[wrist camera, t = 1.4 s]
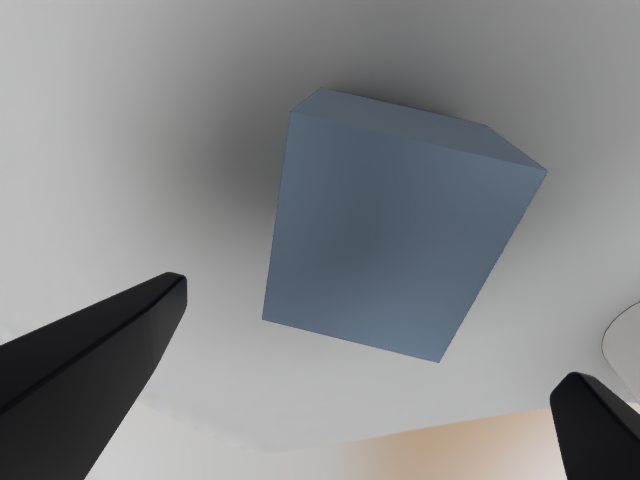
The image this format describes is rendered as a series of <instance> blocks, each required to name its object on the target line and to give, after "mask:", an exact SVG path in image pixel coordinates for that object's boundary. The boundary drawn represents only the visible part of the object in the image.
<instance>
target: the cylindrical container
mask: <svg viewBox="0 0 640 480" xmlns="http://www.w3.org/2000/svg"><path fill="white" fill-rule="evenodd" d="M602 351H603V354H604V357H605V358H606V360H607V361H608V363H609V364H610V365H611V367H612V368H613V369H614V371H615V372H616V373H617V375H618V376H619V378H620V379H621V380H622V382H623V383H624V384H625V386H626V387H627V388H628V390H629V391H630V393H631V394H632V395H633V397H634V398H635V399H636V401H637V402H638V403H639V405H640V302H639V303H637V304H635V305H634V306H632V307H630V308H629V309H627V310H626V311H625V312H623V313H622V314H621V315H620V316H618V317H617V318H616V319H615V320H614V321H613V322H612V323H611V325H610V326H609V328H608V329H607V331H606V332H605V335H604V338H603V341H602Z"/></svg>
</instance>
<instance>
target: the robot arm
mask: <svg viewBox="0 0 640 480" xmlns="http://www.w3.org/2000/svg"><path fill="white" fill-rule="evenodd" d="M186 306H187V279H186V277H185V276H184V275H181V274H177V273H173V272H166V273H163V274H161V275H159V276H156V277H154V278H152V279H150V280H147V281H145V282H143V283H141V284H138V285H136V286H134V287H132V288H129V289H127V290H125V291H123V292H120V293H118V294H116V295H113V296H111V297H109V298H107V299H104V300H102V301H100V302H98V303H95V304H93V305H91V306H89V307H86V308H84V309H82V310H80V311H77V312H75V313H73V314H71V315H68V316H66V317H64V318H61V319H59V320H57V321H55V322H52V323H50V324H48V325H46V326H43V327H41V328H39V329H37V330H34V331H32V332H30V333H28V334H25V335H23V336H21V337H18V338H16V339H14V340H12V341H9V342H7V343H5V344H3V345H0V480H84V479H85V477H86V476H87V474H88V473H89V471H90V470H91V468H92V467H93V465H94V463H95V462H96V460H97V459H98V457H99V456H100V454H101V453H102V451H103V450H104V448H105V447H106V445H107V444H108V442H109V440H110V439H111V437H112V436H113V434H114V433H115V431H116V430H117V428H118V427H119V425H120V424H121V422H122V420H123V419H124V417H125V416H126V414H127V413H128V411H129V410H130V408H131V406H132V405H133V404H134V402H135V400H136V399H137V397H138V396H139V394H140V393H141V391H142V390H143V388H144V387H145V385H146V384H147V382H148V380H149V379H150V377H151V376H152V374H153V372H154V371H155V369H156V367H157V365H158V363H159V361H160V360H161V358H162V356H163V354H164V352H165V350H166V348H167V346H168V344H169V342H170V340H171V338H172V336H173V334H174V332H175V330H176V328H177V326H178V324H179V322H180V320H181V318H182V316H183V314H184V312H185V310H186ZM550 406H551V410H552V415H553V420H554V424H555V429H556V433H557V437H558V442H559V447H560V451H561V456H562V460H563V465H564V468H565V472H566V476H567V480H640V414H638V413H637V412H636V411H635V410H634V409H632V408H631V407H630V406H629V405H628V404H626V403H625V402H624V401H623V400H622V399H620V398H619V397H618V396H617V395H616V394H614V393H613V392H612V391H611V390H610V389H608V388H607V387H606V386H605V385H604V384H602V383H601V382H600V381H599V380H598V379H596V378H595V377H593V376H591V375H587V374H583V373H579V372H571V373H569V374H568V375H567V376H566V377H565V378H564V379H563V380H562V381H561V382H560V383H559V384H558V386H557V387H556V388H555V389H554V390H553V391H552V393H551V395H550Z"/></svg>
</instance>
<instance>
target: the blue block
mask: <svg viewBox="0 0 640 480" xmlns="http://www.w3.org/2000/svg"><path fill="white" fill-rule="evenodd" d="M547 172H548V171H547V170H546V169H545V168H543V167H542V166H541V165H539V164H538V163H537V162H535V161H534V160H532V159H531V158H530V157H528V156H527V155H526V154H524V153H523V152H522V151H520V150H519V149H517V148H516V147H515V146H513V145H512V144H511V143H509V142H508V141H507V140H505V139H504V138H503V137H501V136H500V135H498V134H497V133H496V132H494V131H493V130H492V129H490V128H489V127H488V126H486V125H484V124H479V123H475V122H471V121H466V120H462V119H457V118H453V117H449V116H444V115H440V114H436V113H431V112H427V111H422V110H418V109H414V108H409V107H405V106H401V105H396V104H392V103H387V102H383V101H379V100H374V99H370V98H366V97H361V96H357V95H352V94H348V93H344V92H339V91H335V90H331V89H326V88H322V87H321V88H319V89H318V90H317V91H316V92H314V93H313V94H312V95H311V96H309V97H308V98H307V99H306V100H304V101H303V102H302V103H301V104H299V105H298V106H297V107H296V108H295V109H293V110H292V111H291V112H290V120H289V127H288V134H287V141H286V148H285V156H284V163H283V170H282V177H281V185H280V192H279V199H278V206H277V213H276V221H275V228H274V235H273V242H272V250H271V257H270V264H269V271H268V278H267V286H266V293H265V300H264V307H263V314H262V320H266V321H270V322H274V323H278V324H282V325H286V326H290V327H294V328H298V329H303V330H307V331H311V332H315V333H319V334H323V335H327V336H331V337H335V338H339V339H343V340H347V341H351V342H355V343H359V344H363V345H368V346H372V347H376V348H380V349H384V350H388V351H392V352H396V353H400V354H404V355H408V356H412V357H416V358H420V359H424V360H429V361H433V362H437V363H439V362H440V360H441V359H442V357H443V355H444V353H445V351H446V350H447V348H448V346H449V344H450V343H451V341H452V339H453V337H454V336H455V334H456V332H457V330H458V329H459V327H460V325H461V323H462V322H463V320H464V318H465V316H466V315H467V313H468V311H469V309H470V308H471V306H472V304H473V302H474V301H475V299H476V297H477V295H478V293H479V292H480V290H481V288H482V286H483V285H484V283H485V281H486V279H487V278H488V276H489V274H490V272H491V271H492V269H493V267H494V265H495V264H496V262H497V260H498V258H499V257H500V255H501V253H502V251H503V250H504V248H505V246H506V244H507V243H508V241H509V239H510V237H511V235H512V234H513V232H514V230H515V228H516V227H517V225H518V223H519V221H520V220H521V218H522V216H523V214H524V213H525V211H526V209H527V207H528V206H529V204H530V202H531V200H532V199H533V197H534V195H535V193H536V192H537V190H538V188H539V186H540V184H541V183H542V181H543V179H544V177H545V176H546V174H547Z"/></svg>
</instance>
